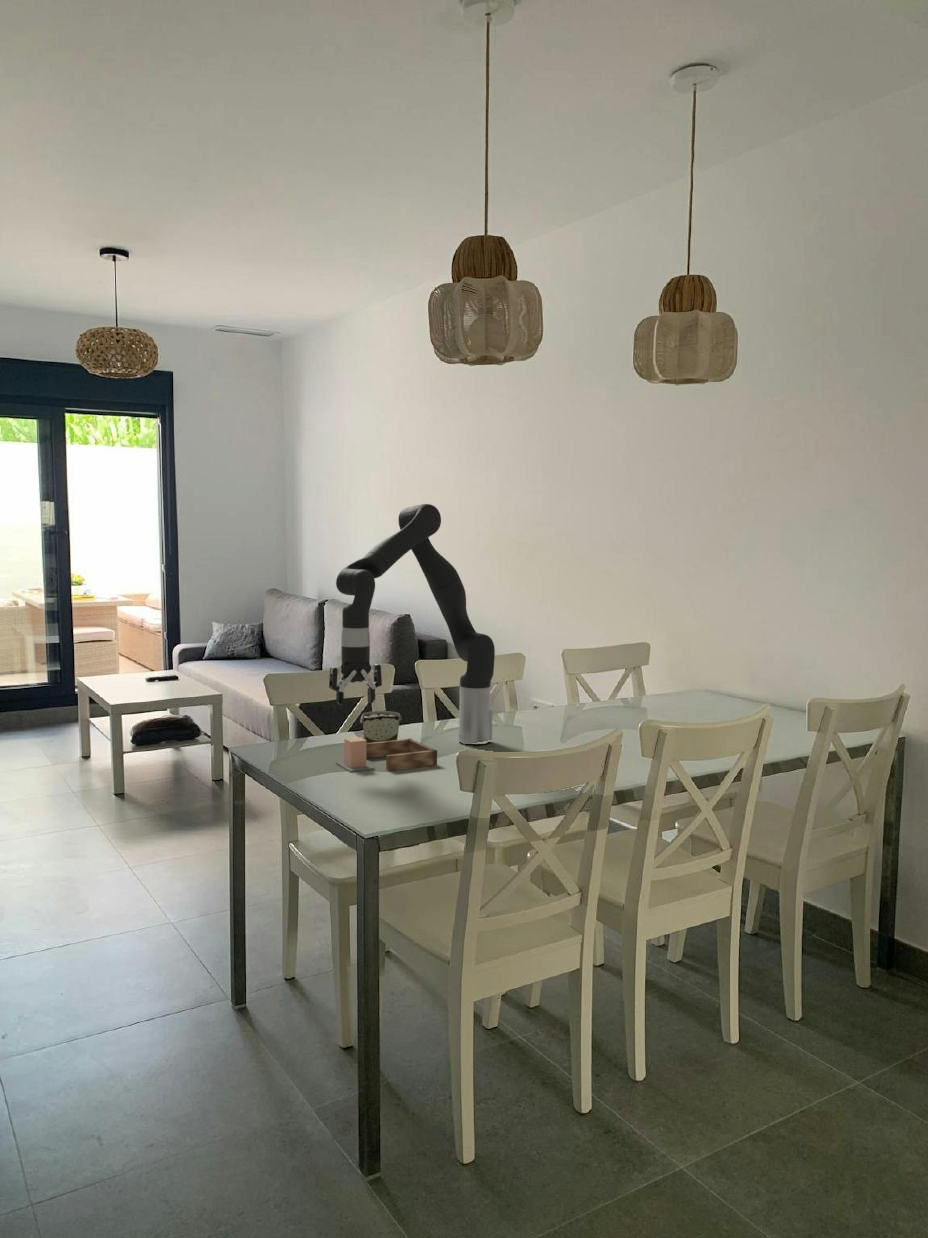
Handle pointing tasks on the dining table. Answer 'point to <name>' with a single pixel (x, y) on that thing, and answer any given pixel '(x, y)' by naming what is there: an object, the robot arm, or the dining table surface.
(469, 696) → the robot arm
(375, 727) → the food container
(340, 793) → the dining table surface
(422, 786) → the dining table surface
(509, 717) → the dining table surface
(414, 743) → the open box
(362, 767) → the grey mat
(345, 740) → the terracotta block
